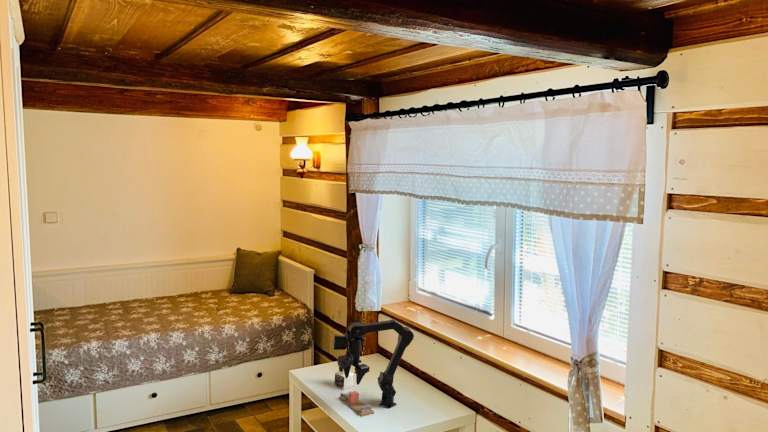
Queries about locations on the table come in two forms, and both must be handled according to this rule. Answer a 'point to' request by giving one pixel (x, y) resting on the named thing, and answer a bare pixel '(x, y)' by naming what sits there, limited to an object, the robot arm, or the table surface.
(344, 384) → the cream yellow box
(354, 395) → the tab
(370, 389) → the table surface
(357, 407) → the plank
